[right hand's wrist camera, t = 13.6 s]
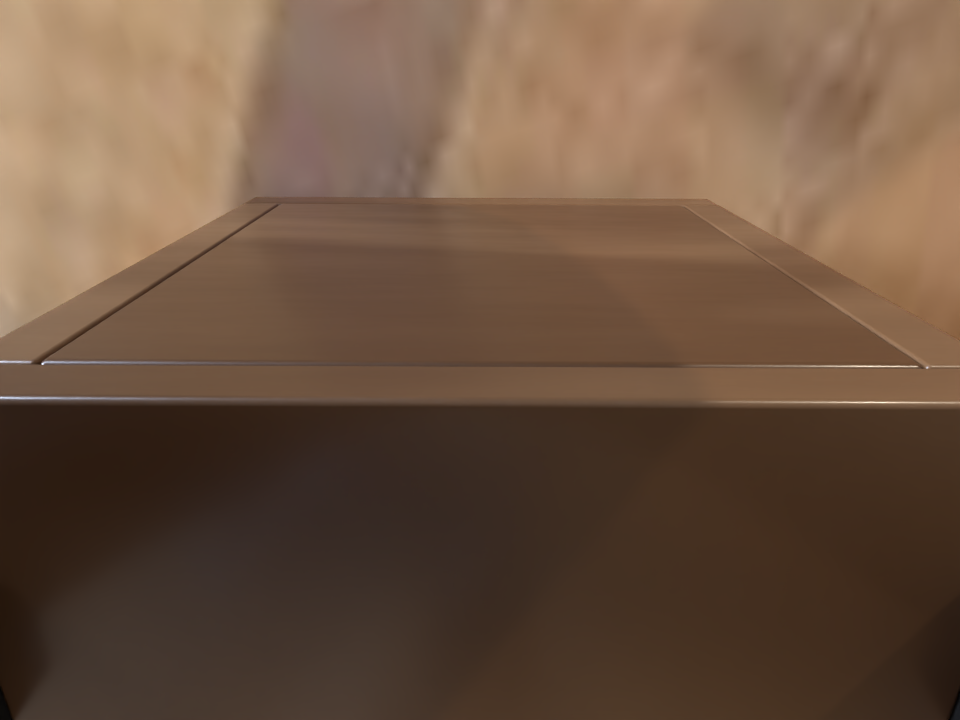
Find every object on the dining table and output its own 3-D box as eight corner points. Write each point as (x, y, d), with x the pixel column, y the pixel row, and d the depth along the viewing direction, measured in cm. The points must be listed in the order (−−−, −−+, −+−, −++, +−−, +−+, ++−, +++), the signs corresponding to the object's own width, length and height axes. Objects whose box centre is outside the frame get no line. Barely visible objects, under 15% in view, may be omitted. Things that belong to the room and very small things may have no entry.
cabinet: (629, 789, 25) (731, 1288, 15) (327, 788, 25) (221, 1284, 15) (708, 198, 17) (1076, 402, 6) (254, 196, 17) (-114, 397, 6)
